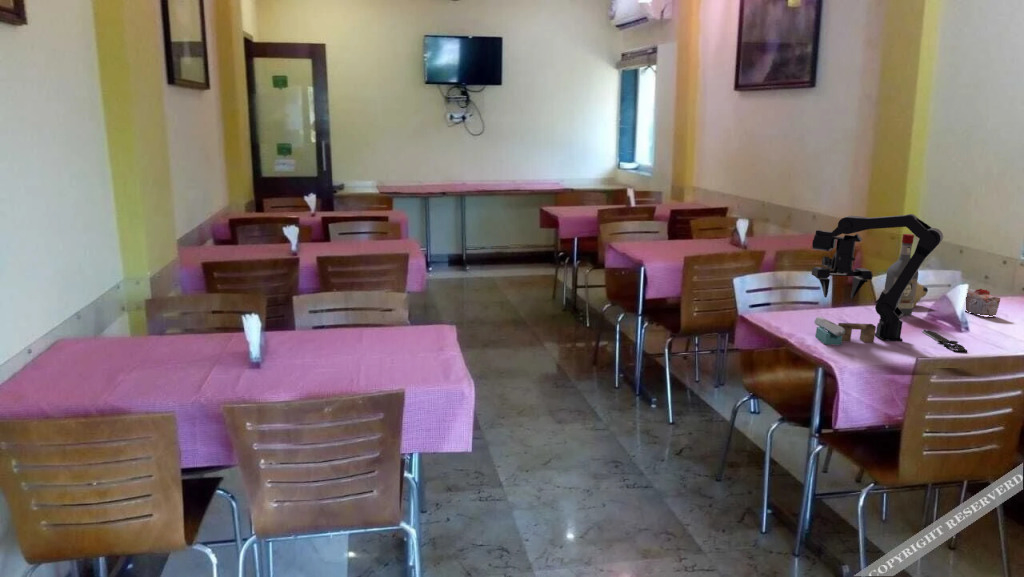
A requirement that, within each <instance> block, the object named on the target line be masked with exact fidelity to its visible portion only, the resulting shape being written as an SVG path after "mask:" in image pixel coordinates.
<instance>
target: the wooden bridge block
mask: <svg viewBox="0 0 1024 577" xmlns="http://www.w3.org/2000/svg"><path fill="white" fill-rule="evenodd" d="M837 325H839V326H841V327H843V328H844V329H845V333H844V335H843V336H842V342H851V338H852V332H853V330H860V333H859V340H860V341H861V342H863V343H874V341H875V336H876V335H875V333H876V331H877V325H876V326H875V325H874V324H873V323H854V322H853V323H852V322H838V324H837Z"/></svg>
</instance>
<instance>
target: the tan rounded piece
mask: <svg viewBox="0 0 1024 577" xmlns="http://www.w3.org/2000/svg"><path fill="white" fill-rule="evenodd" d="M928 291H929V290H928V288H927V287H926V286H925V285H924V284H920V283H919V282H918V281H917V287H916V293H915V299H914V305H913V307H916V306H917V303H919V302H920V301H921V299H922V298H924V297H925V296H926V295H927V293H928Z"/></svg>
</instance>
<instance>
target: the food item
mask: <svg viewBox="0 0 1024 577" xmlns="http://www.w3.org/2000/svg"><path fill="white" fill-rule="evenodd" d="M967 290H968V293H967V297H966V310H967V311H968V312H967V313H969V312H971V313H975V314H980V315H989V316H993V315H996V316H997V314H998V313H997V312H998V309H999V306H1000V303H1001V297H998V296H995V295H991V294H990V291H989V290H988V289H982V288H979V289H972V288H968V289H967Z"/></svg>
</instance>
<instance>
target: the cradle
mask: <svg viewBox="0 0 1024 577" xmlns="http://www.w3.org/2000/svg"><path fill="white" fill-rule="evenodd" d="M815 338H816V339H817V340H819V341H820V342H821V343H822V344H824V345H831V344H834V346H835V345H836V346H837V345H838V346H841V345H842V342H843V341H842V336H841V337H839V336H836V335H834V334H832V333H830V332H829V331H827V330H825V329H823V328H822V327H819V326H817V327H816V330H815Z"/></svg>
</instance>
